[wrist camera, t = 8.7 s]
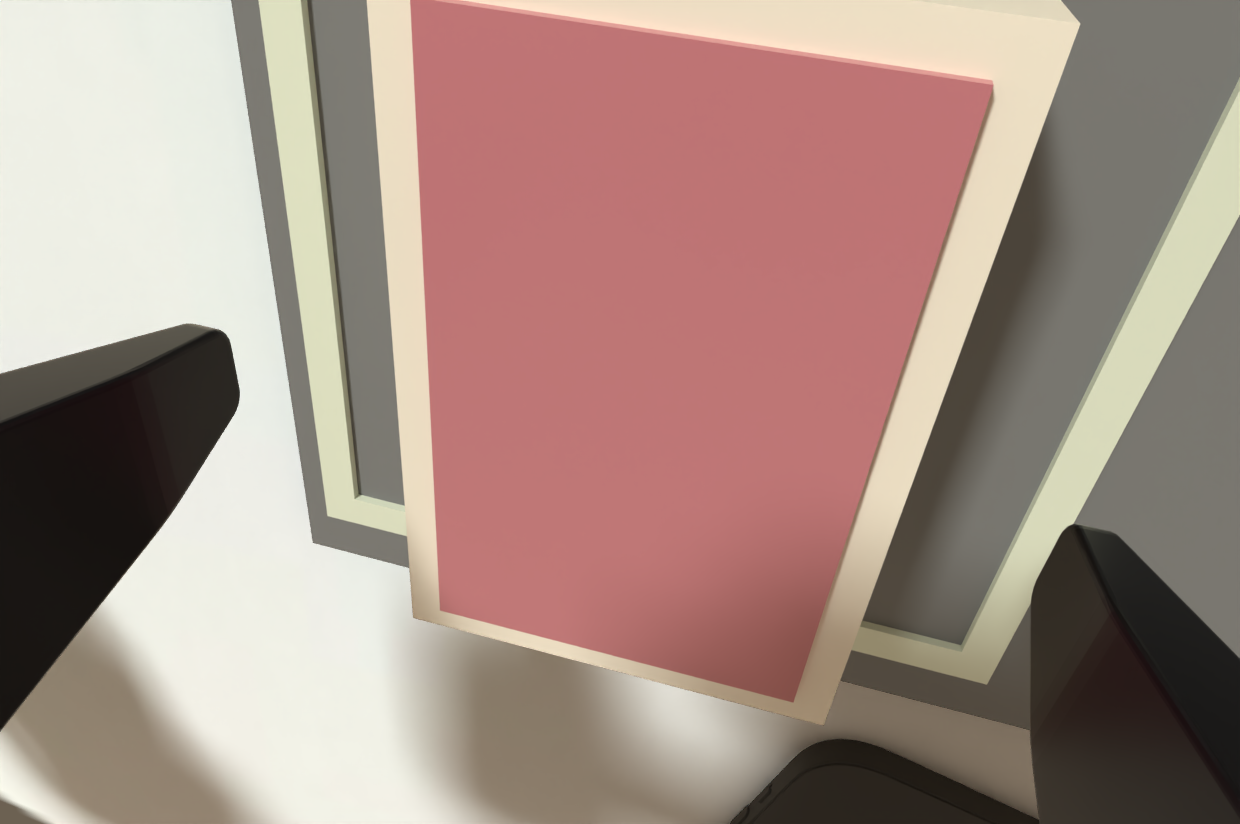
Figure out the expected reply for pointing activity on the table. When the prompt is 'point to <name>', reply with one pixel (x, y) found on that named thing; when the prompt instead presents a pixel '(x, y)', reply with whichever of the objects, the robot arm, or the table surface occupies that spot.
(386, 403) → the mat
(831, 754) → the phone
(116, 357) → the robot arm
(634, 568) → the card deck
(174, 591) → the table surface
